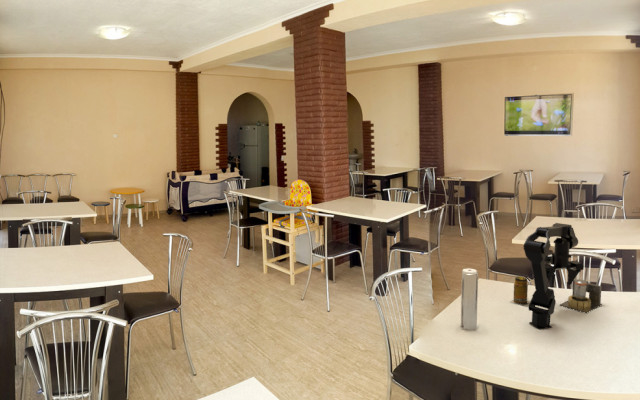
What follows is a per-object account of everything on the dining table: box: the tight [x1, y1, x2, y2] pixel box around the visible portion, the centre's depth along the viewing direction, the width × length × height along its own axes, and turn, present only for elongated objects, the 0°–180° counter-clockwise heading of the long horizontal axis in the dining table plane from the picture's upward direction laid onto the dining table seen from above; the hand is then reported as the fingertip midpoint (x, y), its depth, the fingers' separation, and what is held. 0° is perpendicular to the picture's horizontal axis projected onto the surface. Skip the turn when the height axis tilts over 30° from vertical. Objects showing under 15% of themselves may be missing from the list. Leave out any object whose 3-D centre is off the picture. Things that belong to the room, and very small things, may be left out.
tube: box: [574, 279, 588, 301], centre depth 216 cm, size 5×5×12 cm
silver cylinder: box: [460, 267, 479, 331], centre depth 196 cm, size 6×6×25 cm
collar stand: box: [559, 279, 603, 314], centre depth 217 cm, size 15×12×10 cm
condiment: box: [509, 276, 531, 307], centre depth 222 cm, size 7×8×12 cm
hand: (560, 285), depth 207 cm, fingers open, 9 cm apart
